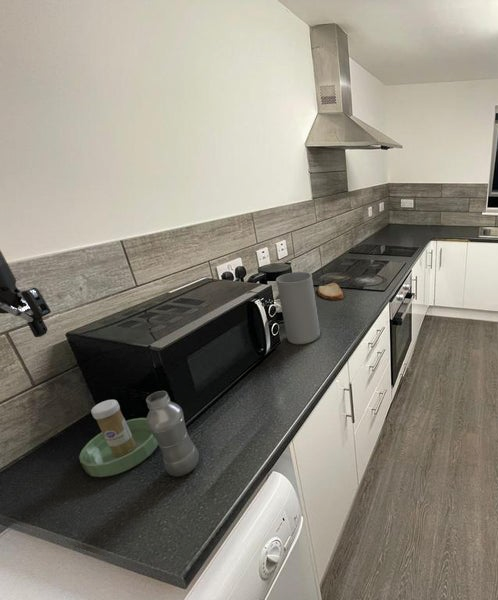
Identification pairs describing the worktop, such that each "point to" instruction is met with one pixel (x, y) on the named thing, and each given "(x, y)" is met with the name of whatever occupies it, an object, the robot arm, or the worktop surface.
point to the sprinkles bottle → (114, 427)
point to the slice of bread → (330, 292)
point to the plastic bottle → (171, 434)
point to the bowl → (103, 463)
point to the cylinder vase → (298, 307)
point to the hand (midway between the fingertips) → (18, 337)
